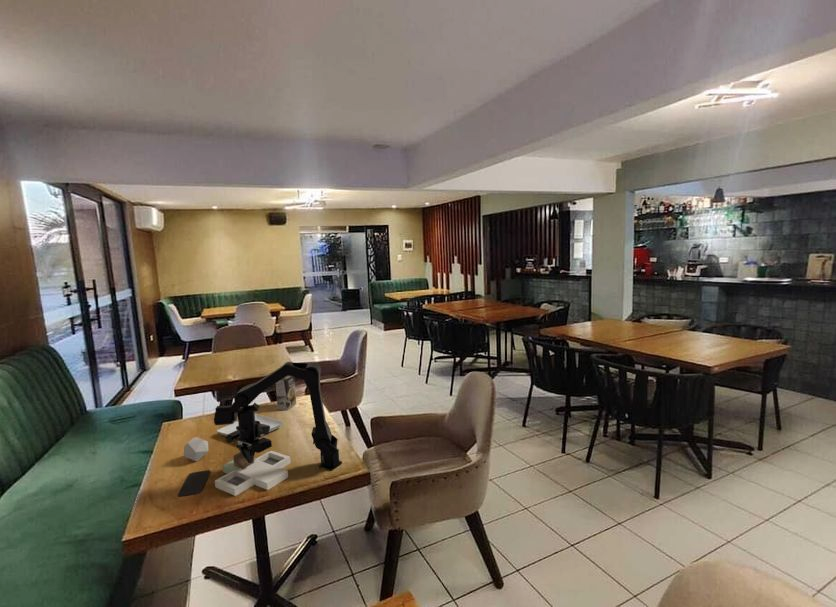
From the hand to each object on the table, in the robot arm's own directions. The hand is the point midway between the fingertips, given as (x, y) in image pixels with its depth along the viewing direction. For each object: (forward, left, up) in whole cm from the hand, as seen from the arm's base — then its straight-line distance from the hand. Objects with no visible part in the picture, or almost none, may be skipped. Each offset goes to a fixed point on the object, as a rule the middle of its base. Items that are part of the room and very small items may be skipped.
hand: (250, 462), depth 150 cm
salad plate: (+31, -23, -5) cm, 39 cm away
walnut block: (+4, 0, -2) cm, 4 cm away
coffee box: (+40, -52, -4) cm, 66 cm away
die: (+30, +3, -4) cm, 30 cm away
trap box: (-2, 0, -4) cm, 5 cm away
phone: (+13, +14, -5) cm, 19 cm away
